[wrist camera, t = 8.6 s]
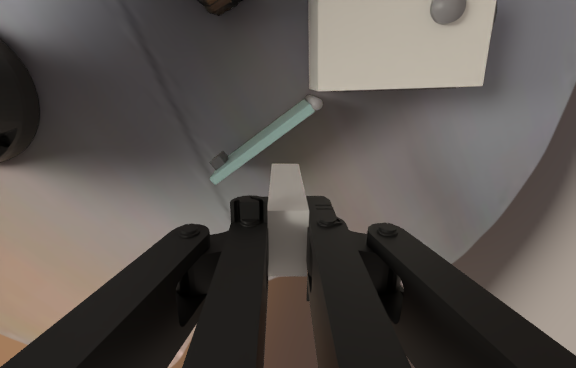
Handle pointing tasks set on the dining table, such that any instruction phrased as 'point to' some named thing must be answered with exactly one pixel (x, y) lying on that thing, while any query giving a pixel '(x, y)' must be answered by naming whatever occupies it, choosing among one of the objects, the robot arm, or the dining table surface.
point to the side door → (263, 138)
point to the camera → (218, 5)
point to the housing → (398, 44)
